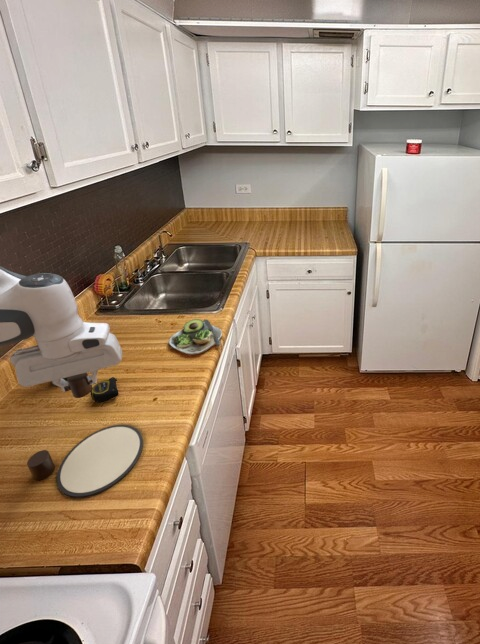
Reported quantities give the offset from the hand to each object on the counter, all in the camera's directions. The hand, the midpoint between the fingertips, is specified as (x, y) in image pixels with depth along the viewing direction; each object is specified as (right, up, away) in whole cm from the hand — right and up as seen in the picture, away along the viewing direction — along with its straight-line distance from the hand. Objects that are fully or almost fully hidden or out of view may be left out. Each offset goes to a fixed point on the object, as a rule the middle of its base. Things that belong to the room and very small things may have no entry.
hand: (81, 386), depth 81 cm
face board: (+5, -18, 0) cm, 19 cm away
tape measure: (-5, -11, +19) cm, 22 cm away
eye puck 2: (0, -2, +1) cm, 2 cm away
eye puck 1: (-7, -19, -3) cm, 21 cm away
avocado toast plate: (+13, -1, +43) cm, 45 cm away
